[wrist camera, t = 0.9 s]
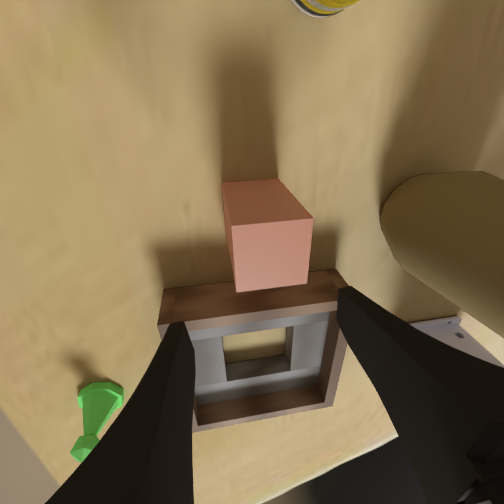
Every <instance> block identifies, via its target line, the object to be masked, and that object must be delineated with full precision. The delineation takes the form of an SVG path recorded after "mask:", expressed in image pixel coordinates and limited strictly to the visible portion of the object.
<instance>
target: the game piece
mask: <svg viewBox="0 0 504 504" xmlns="http://www.w3.org/2000/svg"><path fill="white" fill-rule="evenodd" d="M123 400H124V389H123V388H121V387H119V386H117V385H115V384H113V383H112V382H93V383H91V384H89V385H88V386H86V387H85V388H83V389H81V390H80V393H79V395H78V403H79V407H80V408H82V409H83V428H84V436H80V437H79V438H78V440H77V441H76V443H75V445H74V446H73V448H72V450H71V452H70V454H71V455H72V456H73V457H74V458H75V460H77V461H79V462H81V463H82V462H83V460H84V459H85V458H86V457H87V456H88V454H89V453H90V452H91V451H92V450H93V448H94V447H95V446H96V445H97V443H98V442H99V441H100V440H99V439H98V437H97V434H98V433H99V432H100V430H101V429H102V427H103V426H104V425H105V423H106V422H107V420H108V419H109V418H110V416H111V415H112V413H113V412H114V410H115V409H117V408H119V407H121V406H122V404H123Z"/></svg>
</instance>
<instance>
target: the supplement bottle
mask: <svg viewBox="0 0 504 504" xmlns="http://www.w3.org/2000/svg"><path fill="white" fill-rule="evenodd" d="M291 1H292V2H293V3H294V4H295V6H296V7H297V8H298V9H299V10H301V11H302V12H303V13H305V14H307V15H309V16H312V17H317V18H324V17H329V16H332V15H335V14H337V13H339V12H341V11H342V10H344V9H346V8H347V7H349V6H351V5H352V4H354V3H356V2H357V1H359V0H291Z"/></svg>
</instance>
